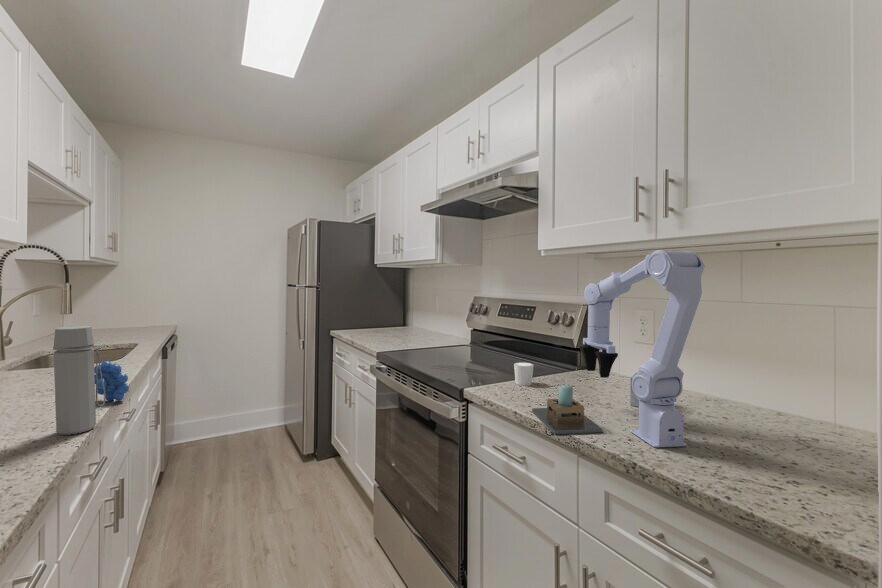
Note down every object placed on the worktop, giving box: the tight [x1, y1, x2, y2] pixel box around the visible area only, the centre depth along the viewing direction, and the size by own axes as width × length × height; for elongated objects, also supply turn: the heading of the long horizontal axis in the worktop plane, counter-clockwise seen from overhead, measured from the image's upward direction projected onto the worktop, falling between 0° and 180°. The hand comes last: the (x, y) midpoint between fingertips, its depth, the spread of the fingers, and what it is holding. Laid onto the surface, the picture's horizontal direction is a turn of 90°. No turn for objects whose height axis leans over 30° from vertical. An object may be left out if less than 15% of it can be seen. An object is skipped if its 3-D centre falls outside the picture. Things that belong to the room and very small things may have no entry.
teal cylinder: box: [557, 385, 574, 416], centre depth 103 cm, size 4×4×8 cm
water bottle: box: [52, 325, 106, 436], centre depth 95 cm, size 9×8×25 cm
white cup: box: [513, 361, 534, 387], centre depth 140 cm, size 7×7×7 cm
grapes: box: [94, 360, 130, 402], centre depth 116 cm, size 12×7×12 cm, turn 82°
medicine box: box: [629, 372, 639, 408], centre depth 118 cm, size 8×4×9 cm, turn 143°
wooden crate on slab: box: [531, 398, 603, 435], centre depth 103 cm, size 16×12×5 cm
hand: (597, 373), depth 112 cm, fingers open, 7 cm apart
